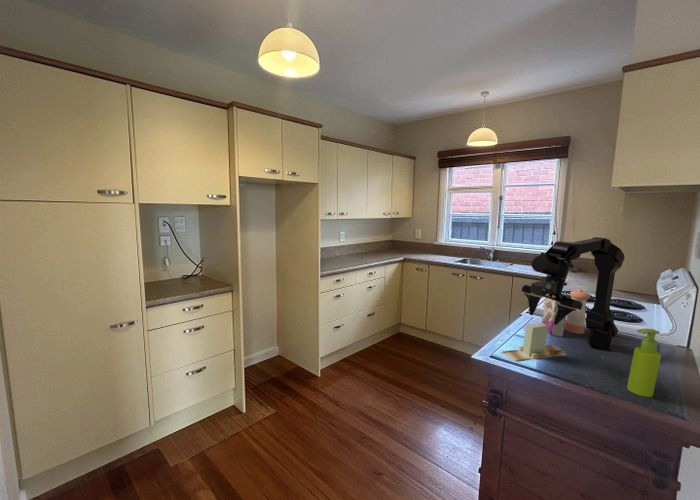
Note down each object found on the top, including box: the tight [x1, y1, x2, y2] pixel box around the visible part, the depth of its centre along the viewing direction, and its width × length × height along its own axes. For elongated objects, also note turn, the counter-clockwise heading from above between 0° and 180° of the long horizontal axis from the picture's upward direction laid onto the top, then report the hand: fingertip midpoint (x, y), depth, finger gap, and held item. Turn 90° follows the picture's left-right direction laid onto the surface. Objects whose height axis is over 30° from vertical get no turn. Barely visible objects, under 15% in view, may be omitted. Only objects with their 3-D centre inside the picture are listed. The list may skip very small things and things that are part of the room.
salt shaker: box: [564, 288, 590, 335], centre depth 140 cm, size 7×7×19 cm
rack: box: [500, 344, 567, 363], centre depth 117 cm, size 24×7×2 cm, turn 106°
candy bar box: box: [541, 294, 567, 338], centre depth 139 cm, size 11×5×16 cm, turn 168°
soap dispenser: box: [626, 328, 662, 398], centre depth 95 cm, size 6×7×20 cm
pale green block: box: [522, 322, 548, 356], centre depth 116 cm, size 7×3×11 cm, turn 106°
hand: (542, 319), depth 111 cm, fingers open, 9 cm apart
